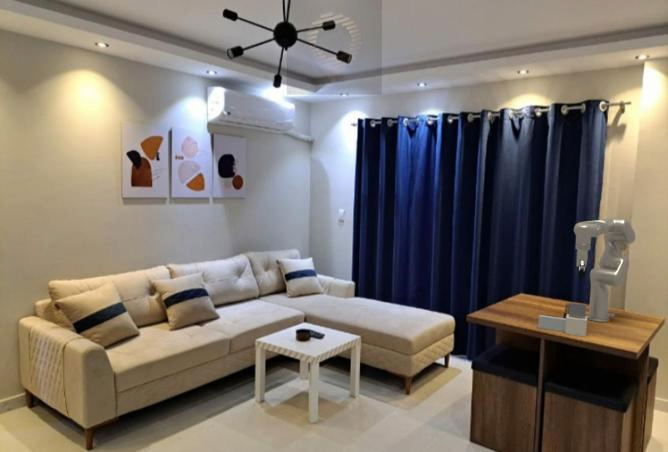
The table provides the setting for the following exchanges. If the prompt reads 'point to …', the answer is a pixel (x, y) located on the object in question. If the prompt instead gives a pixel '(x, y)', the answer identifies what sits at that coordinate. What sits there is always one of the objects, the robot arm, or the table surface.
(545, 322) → the headboard post
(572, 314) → the steel bracket
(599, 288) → the robot arm
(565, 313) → the ammunition clip
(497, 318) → the table surface
